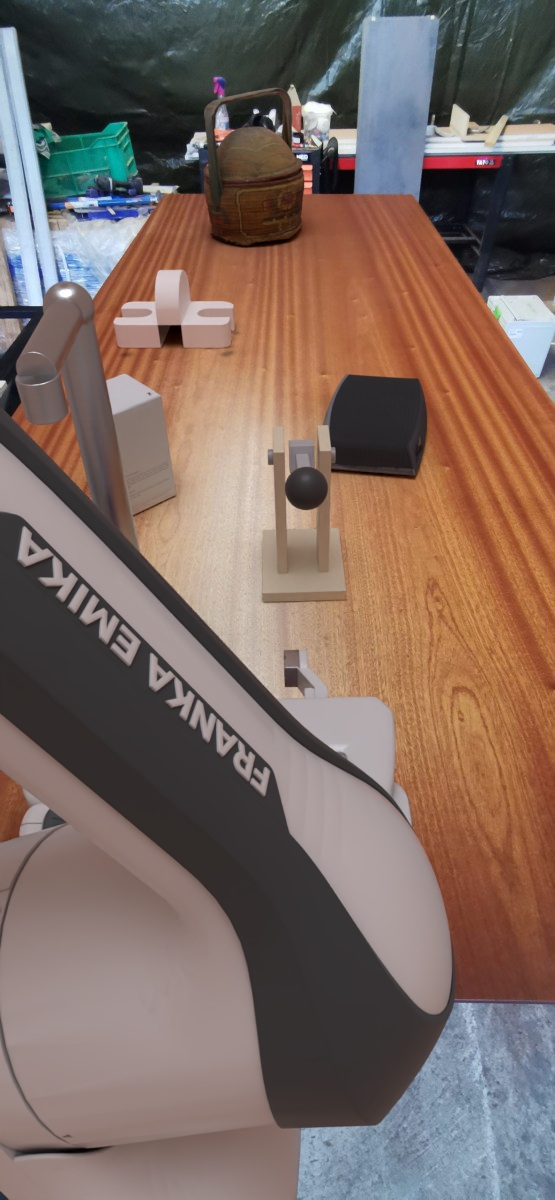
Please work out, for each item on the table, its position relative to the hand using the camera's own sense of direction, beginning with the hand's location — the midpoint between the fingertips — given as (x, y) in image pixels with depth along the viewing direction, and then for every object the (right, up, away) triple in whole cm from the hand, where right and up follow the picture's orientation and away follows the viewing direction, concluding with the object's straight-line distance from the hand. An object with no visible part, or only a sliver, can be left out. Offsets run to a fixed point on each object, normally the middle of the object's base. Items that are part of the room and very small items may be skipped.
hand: (220, 658), depth 46 cm
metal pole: (-9, -3, +18) cm, 20 cm away
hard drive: (+16, +25, +47) cm, 56 cm away
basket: (-1, +81, +110) cm, 137 cm away
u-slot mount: (-12, +46, +72) cm, 86 cm away
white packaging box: (-13, +16, +39) cm, 44 cm away
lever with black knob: (+6, +13, +14) cm, 20 cm away
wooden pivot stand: (+6, +7, +28) cm, 30 cm away
